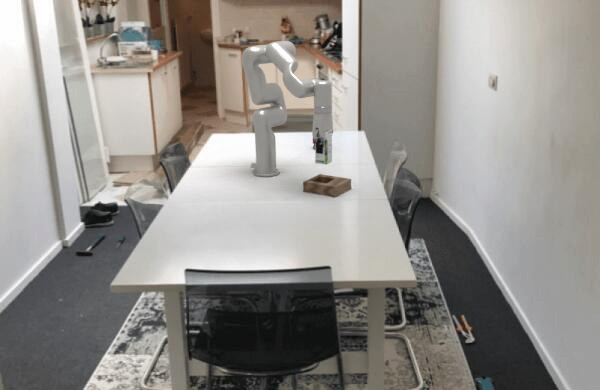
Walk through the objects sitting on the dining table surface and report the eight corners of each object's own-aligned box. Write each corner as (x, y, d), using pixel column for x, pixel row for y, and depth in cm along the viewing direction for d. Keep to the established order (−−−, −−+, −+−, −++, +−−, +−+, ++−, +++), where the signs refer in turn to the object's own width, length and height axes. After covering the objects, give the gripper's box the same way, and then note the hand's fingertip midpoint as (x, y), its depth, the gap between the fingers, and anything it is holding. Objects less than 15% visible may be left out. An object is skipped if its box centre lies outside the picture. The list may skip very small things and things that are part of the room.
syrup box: (314, 163, 281) (314, 130, 277) (320, 160, 286) (320, 128, 282) (326, 164, 278) (326, 131, 274) (332, 161, 283) (332, 128, 279)
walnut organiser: (303, 191, 284) (303, 181, 282) (319, 183, 295) (319, 174, 293) (335, 197, 275) (335, 187, 274) (351, 188, 286) (351, 178, 285)
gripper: (325, 106, 284) (326, 146, 290) (304, 112, 270) (305, 155, 276) (340, 107, 280) (340, 148, 286) (320, 114, 266) (320, 157, 272)
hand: (323, 151), depth 281 cm, fingers closed on syrup box, 6 cm apart
